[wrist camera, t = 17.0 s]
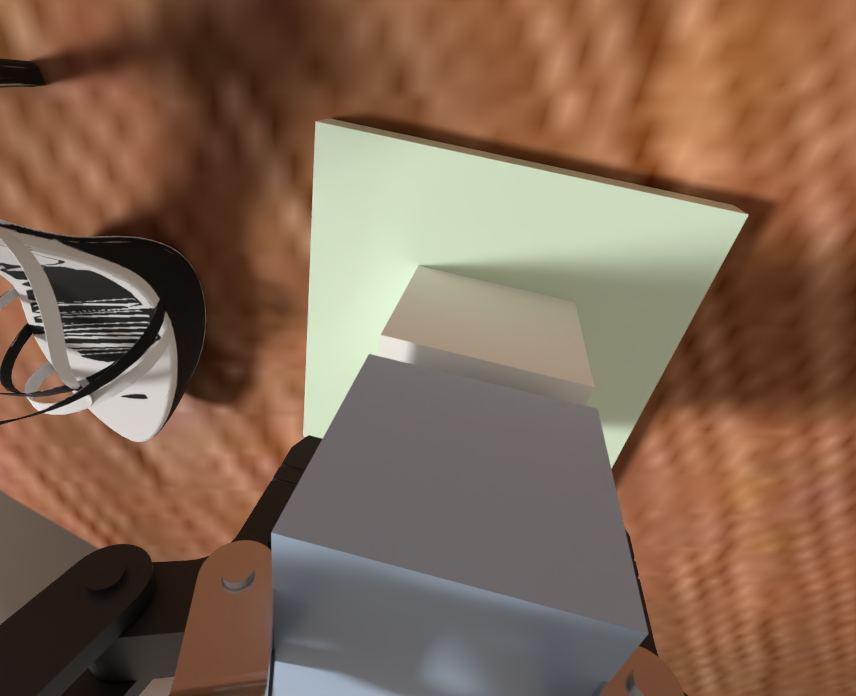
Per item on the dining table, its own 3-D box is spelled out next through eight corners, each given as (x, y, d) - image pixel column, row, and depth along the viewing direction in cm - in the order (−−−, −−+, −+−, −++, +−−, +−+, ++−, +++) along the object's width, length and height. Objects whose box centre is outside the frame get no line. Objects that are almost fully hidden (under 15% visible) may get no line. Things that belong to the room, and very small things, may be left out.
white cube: (574, 301, 16) (594, 387, 11) (528, 422, 18) (530, 527, 14) (418, 265, 16) (380, 334, 12) (396, 389, 19) (360, 482, 14)
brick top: (597, 408, 11) (648, 633, 6) (531, 551, 13) (534, 773, 9) (369, 353, 11) (271, 532, 7) (351, 504, 14) (274, 697, 9)
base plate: (732, 204, 14) (749, 214, 13) (585, 488, 21) (589, 509, 20) (329, 118, 15) (315, 121, 14) (313, 419, 22) (303, 436, 21)
